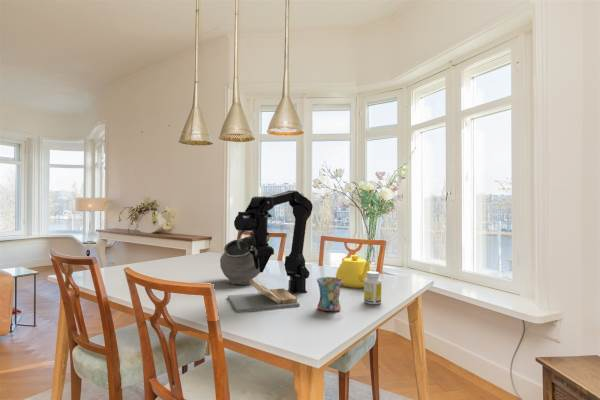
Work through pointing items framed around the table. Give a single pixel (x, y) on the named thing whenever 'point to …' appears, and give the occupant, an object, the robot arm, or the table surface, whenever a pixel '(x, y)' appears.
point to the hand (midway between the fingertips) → (259, 270)
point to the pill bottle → (372, 288)
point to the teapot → (353, 271)
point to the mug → (329, 293)
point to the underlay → (256, 302)
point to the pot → (238, 263)
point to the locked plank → (284, 296)
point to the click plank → (265, 291)
